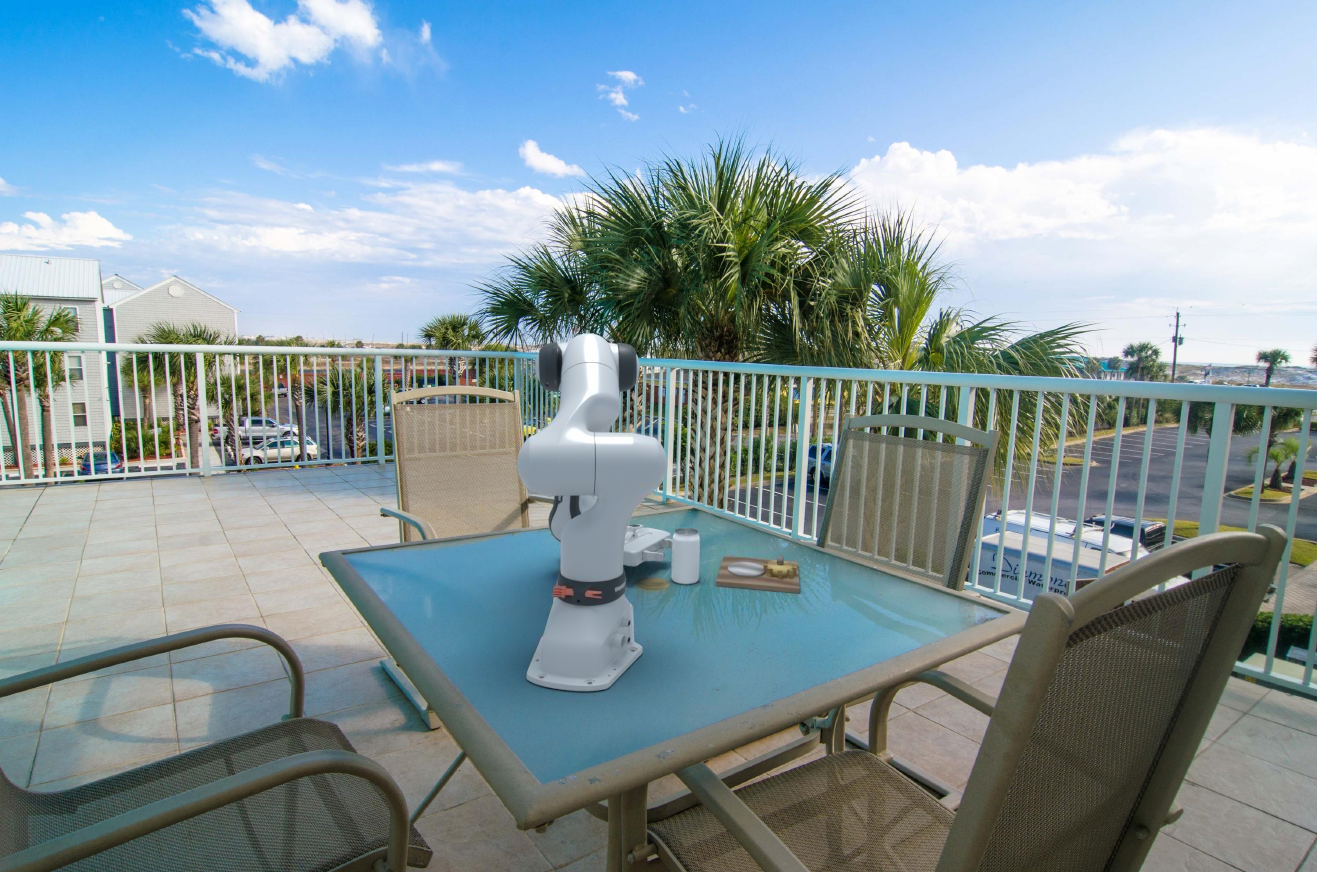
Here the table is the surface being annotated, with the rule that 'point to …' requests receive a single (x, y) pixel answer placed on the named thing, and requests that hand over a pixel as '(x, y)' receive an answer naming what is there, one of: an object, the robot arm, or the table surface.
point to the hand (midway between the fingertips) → (672, 551)
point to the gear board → (759, 574)
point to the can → (685, 556)
